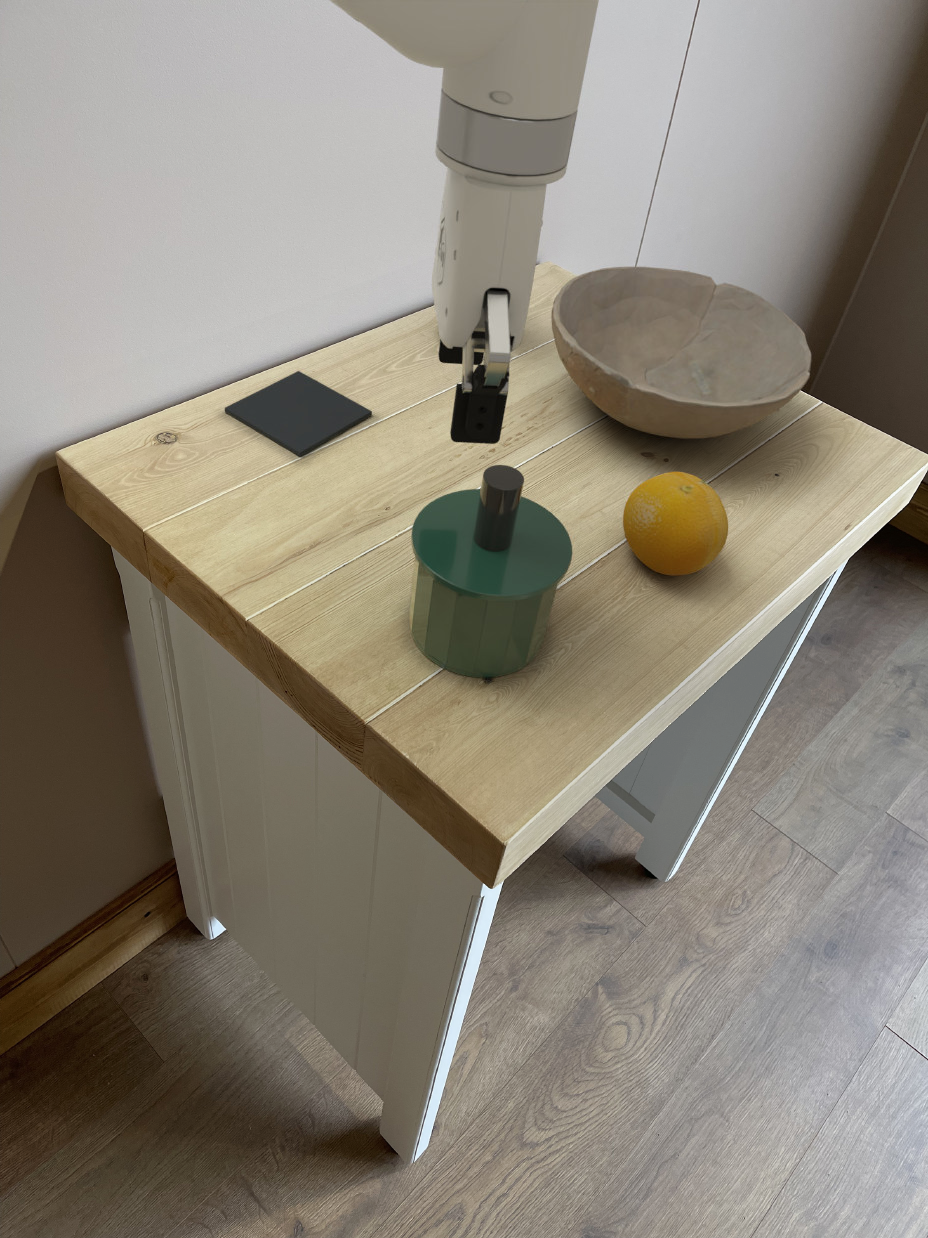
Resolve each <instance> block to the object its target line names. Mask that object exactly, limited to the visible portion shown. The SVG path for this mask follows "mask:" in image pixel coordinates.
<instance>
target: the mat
mask: <svg viewBox="0 0 928 1238" xmlns="http://www.w3.org/2000/svg"><path fill="white" fill-rule="evenodd" d="M224 413H226V414H228V415H229V416H231V417H233V418H234V419H236V420H238V421H239V422H241V423H243V424H244V425H246V426H248V427H249V428H251V429H253V430H254V431H256V432H257V433H258V434H261V435H263V436H264V437H265V438H268V439H269V440H270V441H273V442H274V443H276V444H278V445H280V446H281V447H283V448H284V449H286V450H287V451H289V452H291V453H293V454H295V455H296V456H298V457H299V458H301V457H302V456H304V455H306V454H307V453H309V452H311V451H313V450H314V449H316V448H318V447H320V446H321V445H323V444H325V443H327V442H328V441H330V440H332V439H333V438H335V437H338V436H339V435H340V434H342V433H344V432H346V431H347V430H349V429H351V428H353V427H354V426H356V425H357V424H359V423H361V422H363V421H365V420H366V419H368V418H370V417H371V416H372V415H373V411H372V410H370V409H369V408H366V407H365V406H363V405H361V404H360V403H358V402H356V401H354V400H352V399H350V398H349V397H347V396H345V395H343V394H341V393H339V392H338V391H336V390H335V389H333V388H331V387H329V386H327V385H325V384H323V383H321V382H320V381H318V380H316V379H315V378H313V377H310V376H309V375H307V374H305V373H303V372H302V371H300V370H297V371H296V372H293V373H292V374H290V375H287V376H285V377H283V378H282V379H281V378H280V379H279V380H277V381H275V382H273V383H272V384H270V385H267V386H265V387H263V388H262V389H260V390H257V391H255V392H253V393H251V394H249V395H248V396H245V397H244V398H243V397H242V398H241V399H239V400H237V401H235V402H233V403H232V404H231V403H230V404H229V405H227V406H225V407H224Z"/></svg>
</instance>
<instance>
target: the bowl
mask: <svg viewBox="0 0 928 1238" xmlns="http://www.w3.org/2000/svg"><path fill="white" fill-rule="evenodd" d="M550 318H551V329H552V335H553V339H554V344H555V346H556V350H557V353H558V356H559V358H560V361H561V362H562V365H563V366H564V368H565V371H567V373H568V376H570V378H571V379H572V380H573V382H574V383H575V384H576V385H577V386H578V388H579V389H580V390H581V391H582V393H583V394H584V395H585V396H586V397H587V398H588V399H589V400H590V401H591V402H592V403H593V404H594V405H595V406H596V407H597V408H599V409H600V410H601V411H602V412H603V413H605V414H606V415H608V416H609V417H610V418H611V419H614V420H615V421H617V422H619V423H621V424H623V425H624V426H626V427H628V428H630V429H634V430H636V431H639V432H642V433H645V434H651V435H654V436H660V437H666V438H675V439H708V438H715V437H720V436H723V435H724V436H725V435H728V434H731V433H734V432H737V431H740V430H743V429H746V428H748V427H751V426H753V425H755V424H757V423H759V422H761V421H763V420H764V419H767V418H768V417H769V416H771V415H772V414H774V413H775V412H778V411H779V410H780V409H781V408H782V407H784V406H785V405H786V404H787V403H789V402H791V400H793V398H794V397H796V396H797V395H798V394H799V393H800V392H801V390H802V389H803V388H804V386H805V385H806V384H807V382H808V380H809V379H810V377H811V376H810V375H811V373H810V372H811V365H812V352H811V350H810V346H809V345H808V341H807V338H806V334H805V333H804V331H803V330H802V328H801V327H800V326H799V325H798V324H797V323H796V322H795V321H793V320H792V319H791V318H790V317H789V316H788V315H787V314H786V313H785V312H784V311H783V310H781V309H779V308H778V307H777V306H775V305H773V303H771V302H769V301H767V300H766V299H765V298H763V297H762V296H761V295H759V294H757V293H755V292H753V291H751V290H749V289H746V288H743V287H742V286H738V285H734V284H730V283H727V282H722V283H719V284H717V283H716V282H715V281H714V279H713V277H711V276H709V275H704V274H700V273H698V272H697V273H696V272H693V271H689V270H682V269H680V270H679V269H672V268H663V267H651V266H614V267H613V266H612V267H604V268H598V269H595V270H591V271H588V272H585V273H582V274H580V275H577V276H575V277H573V278H572V279H570V280H569V281H567V282H566V283H565V284H564V285H563V286H561V288H560V290H559V292H558V293H557V294H556V296H554V300H553V302H552V308H551V317H550Z"/></svg>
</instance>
